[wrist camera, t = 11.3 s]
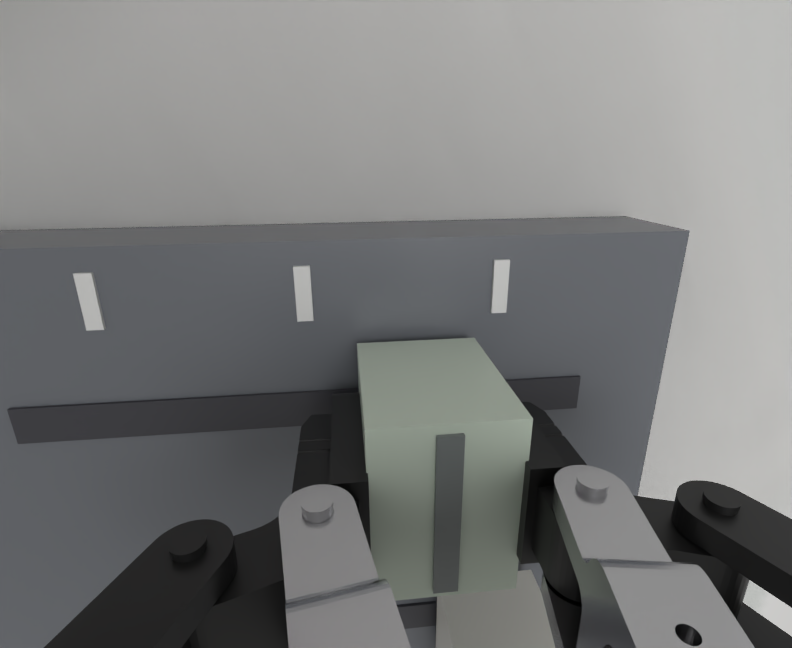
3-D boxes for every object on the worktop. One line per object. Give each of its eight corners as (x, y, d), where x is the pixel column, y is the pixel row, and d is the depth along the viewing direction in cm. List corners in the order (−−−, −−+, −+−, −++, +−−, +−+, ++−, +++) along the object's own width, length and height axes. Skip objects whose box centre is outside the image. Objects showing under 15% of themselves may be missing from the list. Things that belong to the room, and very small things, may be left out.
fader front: (361, 477, 13) (370, 607, 10) (356, 343, 12) (364, 433, 8) (467, 468, 14) (517, 592, 10) (474, 337, 12) (535, 421, 8)
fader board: (81, 663, 19) (35, 755, 16) (-59, 231, 13) (-169, 254, 10) (566, 611, 21) (602, 684, 18) (625, 216, 15) (692, 231, 12)
